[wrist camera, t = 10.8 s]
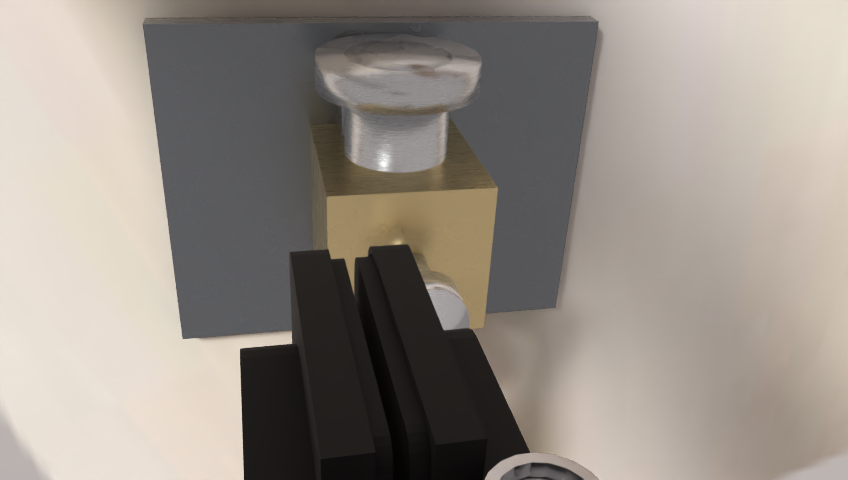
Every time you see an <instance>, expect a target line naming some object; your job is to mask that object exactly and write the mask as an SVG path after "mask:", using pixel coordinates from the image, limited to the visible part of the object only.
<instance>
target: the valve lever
mask: <svg viewBox="0 0 848 480" xmlns="http://www.w3.org/2000/svg"><path fill="white" fill-rule="evenodd" d="M420 273H421V276H422V278H423V281H424V283H425V286H426V288H427V290H428V293H429V295H430V298H431V300H432V303H433V305H434V308H435V310H436V313H437V315H438V317H439V320H440V322H441V325H442V327H443V330H452V329H463V328H469V325H470V317H469V313H468V310H467V308H466V306H465V304H464V302H463V300H462V297H461V295H460V293H459V291H458V289H457V286H456V285H455V283H454V282H453V280H452V279H451V278H450V277H448V276H447V275H445V274H443V273H440V272H437V271H420Z"/></svg>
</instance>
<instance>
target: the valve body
mask: <svg viewBox="0 0 848 480" xmlns="http://www.w3.org/2000/svg"><path fill="white" fill-rule="evenodd" d="M598 22H599V21H597V20H595V19H594V18H592V17H590V16H562V17H321V18H145V20H144V23H143V28H144V36H145V44H146V52H147V60H148V68H149V76H150V83H151V91H152V99H153V107H154V115H155V123H156V131H157V139H158V147H159V155H160V163H161V171H162V178H163V186H164V194H165V202H166V210H167V218H168V226H169V234H170V242H171V250H172V258H173V266H174V273H175V281H176V289H177V297H178V305H179V313H180V321H181V329H182V337H183V339H189V338H201V337H213V336H225V335H237V334H249V333H260V332H272V331H284V330H292V319H291V293H290V267H289V252H293V251H308V250H324V249H328V250H329V252H330V256H331V259H340V258H344V259H345V262H346V266H347V270H348V273H349V277H350V281H351V285H352V289H353V293H354V265H355V258H356V257H368V250H369V247H370V246H384V245H399V244H408V245H409V247H410V249H411V251H412V254H413V256H414V259H415V261H416V263H417V266H418V268H419V271H437V272H440V273H443V274H445V275H447V276H448V277H450V278H451V279H452V280H453V282H454V283H455V285H456V286H457V289H458V291H459V293H460V295H461V297H462V300H463V302H464V304H465V306H466V308H467V310H468V313H469V317H470V325H469V328H470V329H477V328H484V322H485V314H486V313H498V312H509V311H521V310H533V309H545V308H555V306H556V299H557V293H558V286H559V280H560V273H561V266H562V260H563V253H564V247H565V240H566V233H567V227H568V220H569V214H570V207H571V200H572V194H573V187H574V181H575V174H576V167H577V161H578V154H579V148H580V141H581V135H582V128H583V121H584V115H585V108H586V102H587V95H588V88H589V82H590V75H591V69H592V62H593V55H594V49H595V42H596V36H597V29H598Z"/></svg>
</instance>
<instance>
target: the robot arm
mask: <svg viewBox="0 0 848 480" xmlns="http://www.w3.org/2000/svg"><path fill="white" fill-rule="evenodd" d="M289 267H290V293H291V319H292V344H286V345H275V346H264V347H253V348H242V349H240V366H241V397H242V428H243V459H244V480H599V479H598V478H597V477H596V476H595V475H594V474H593V473H592V472H591V471H589V470H588V469H586V468H584V467H583V466H581V465H579V464H578V463H576V462H574V461H572V460H569V459H566V458H563V457H560V456H557V455H554V454H545V453H536V452H534V453H530V451H529V449H528V447H527V445H526V443H525V441H524V438H523V436H522V434H521V432H520V430H519V428H518V425H517V423H516V421H515V419H514V417H513V415H512V412H511V410H510V408H509V406H508V404H507V402H506V399H505V397H504V395H503V393H502V391H501V389H500V386H499V384H498V382H497V380H496V378H495V376H494V373H493V371H492V369H491V367H490V365H489V363H488V360H487V358H486V356H485V354H484V352H483V350H482V348H481V345H480V343H479V341H478V339H477V337H476V335H475V333H474V332H473V330H471V329H470V328H463V329H452V330H443V327H442V325H441V322H440V320H439V317H438V315H437V313H436V310H435V308H434V305H433V303H432V300H431V298H430V295H429V293H428V290H427V288H426V286H425V283H424V281H423V278H422V276H421V273H420V271H419V268H418V266H417V263H416V261H415V259H414V256H413V254H412V251H411V249H410V247H409V245H408V244H399V245H384V246H370V247H369V250H368V257H356V258H355V265H354V293H353V289H352V285H351V281H350V277H349V273H348V270H347V266H346V262H345V259H344V258H340V259H331V256H330V252H329V250H328V249H324V250H308V251H293V252H289Z"/></svg>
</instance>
